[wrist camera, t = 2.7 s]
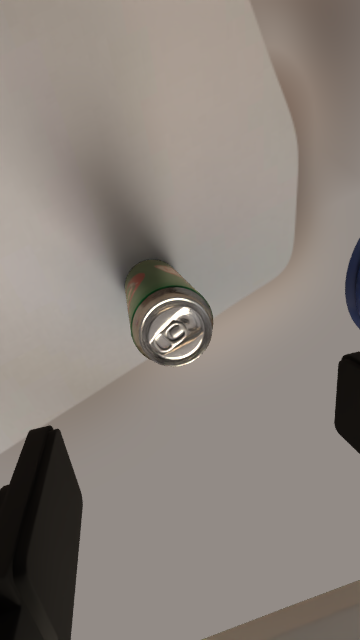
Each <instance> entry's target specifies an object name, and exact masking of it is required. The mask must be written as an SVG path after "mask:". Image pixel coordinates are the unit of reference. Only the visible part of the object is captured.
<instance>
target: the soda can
mask: <svg viewBox="0 0 360 640" xmlns="http://www.w3.org/2000/svg"><path fill="white" fill-rule="evenodd" d="M125 293H126V300H127V307H128V315H129V322H130V329H131V336H132V339H133V342H134V344H135V345H136V347H137V349H138V350H139V351H140V352H141V353H142V354H143V355H144V356H145V357H147V358H148V359H150V360H152V361H154V362H156V363H158V364H161V365H164V366H171V367H172V366H181V365H185V364H188V363H190V362H192V361H194V360H195V359H197V358H198V357H199V356H200V355H201V354H202V353H203V352H204V351H205V350H206V348H207V346H208V345H209V342H210V340H211V336H212V329H213V315H212V311H211V309H210V306H209V304H208V303H207V301H206V300H205V299H204V297H203V296H202V295H201V294H200V293H199V292H198V291H196V290H195V289H194V288H193V287H192V286H191V285H190V284H189V283H188V282H187V281H186V280H185V279H184V278H183V277H182V276H181V275H180V274H179V273H178V272H177V271H176V270H175V269H174V268H172V267H171V266H170V265H169V264H167V263H166V262H163V261H161V260H154V259H151V260H145V261H142V262H140V263H138V264H137V265H135V266H134V267H133V268H132V269H131V271H130V272H129V274H128V275H127V278H126V281H125Z"/></svg>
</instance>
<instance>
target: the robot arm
mask: <svg viewBox="0 0 360 640" xmlns="http://www.w3.org/2000/svg"><path fill="white" fill-rule="evenodd" d="M334 423H335V428H336V430H337V432H338V433H339V434H340V435H341V436H342V437H343V438H344V439H345V440H346V441H347V442H348V443H349V444H350V445H351V446H352V447H353V448H354V449H355V450H356V451H357V452H358V453H360V352H356V353H351V354H347V355H344V356H343V358H342V360H341V361H340V362H339V366H338V380H337V394H336V409H335V422H334ZM82 503H83V502H82V494H81V491H80V488H79V485H78V482H77V479H76V476H75V474H74V470H73V468H72V464H71V462H70V459H69V456H68V453H67V450H66V447H65V444H64V441H63V438H62V435H61V432H60V430H59V429H55V430H53V428H52V426H46V427H42V428H37V429H33V430H30V431H29V433H28V435H27V438H26V440H25V443H24V446H23V449H22V451H21V454H20V457H19V460H18V463H17V465H16V468H15V470H14V473H13V476H12V479H11V481H10V484H9V485H6V486H3V487H2V488H1V489H0V640H71V628H72V617H73V606H74V594H75V585H76V574H77V562H78V551H79V541H80V530H81V518H82V507H83V504H82ZM202 640H360V580H358V581H356V582H353V583H350V584H347V585H345V586H342V587H339V588H337V589H334V590H331V591H329V592H326V593H323V594H321V595H318V596H315V597H313V598H310V599H307V600H305V601H302V602H299V603H297V604H294V605H292V606H289V607H286V608H283V609H281V610H278V611H276V612H273V613H271V614H268V615H265V616H262V617H260V618H257V619H255V620H252V621H249V622H247V623H244V624H242V625H239V626H237V627H234V628H231V629H228V630H226V631H223V632H221V633H218V634H215V635H213V636H210V637H207V638H205V639H202Z"/></svg>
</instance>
